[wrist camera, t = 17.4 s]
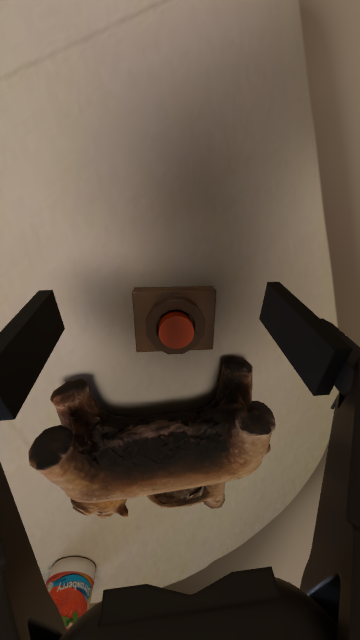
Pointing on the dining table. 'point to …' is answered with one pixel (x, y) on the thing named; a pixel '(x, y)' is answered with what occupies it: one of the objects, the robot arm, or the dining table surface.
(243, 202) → the dining table surface
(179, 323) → the button
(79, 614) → the fruit juice
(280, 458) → the dining table surface
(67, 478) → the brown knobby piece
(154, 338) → the button block
